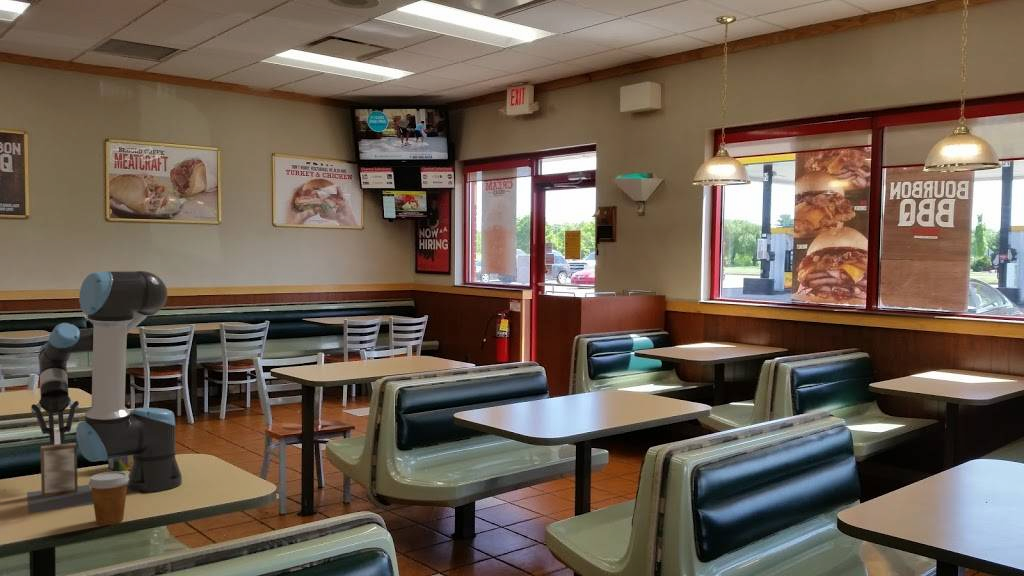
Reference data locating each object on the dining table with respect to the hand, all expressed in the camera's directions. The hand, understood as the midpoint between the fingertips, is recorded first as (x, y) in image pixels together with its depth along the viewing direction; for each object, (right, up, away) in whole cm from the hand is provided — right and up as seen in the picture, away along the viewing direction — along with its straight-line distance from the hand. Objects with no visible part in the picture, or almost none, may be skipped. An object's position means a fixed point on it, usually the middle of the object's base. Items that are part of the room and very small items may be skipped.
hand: (57, 451), depth 244 cm
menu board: (+3, -11, -4) cm, 13 cm away
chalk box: (+8, -11, +26) cm, 29 cm away
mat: (+5, -12, -9) cm, 16 cm away
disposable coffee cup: (+28, -13, -27) cm, 42 cm away
